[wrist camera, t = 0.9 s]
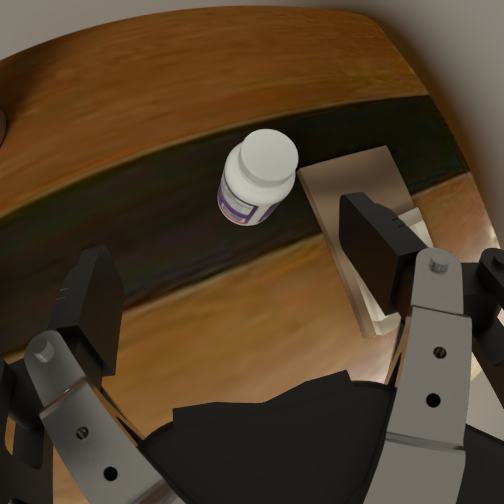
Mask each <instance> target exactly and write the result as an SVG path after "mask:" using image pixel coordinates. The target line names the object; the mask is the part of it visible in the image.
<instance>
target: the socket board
mask: <svg viewBox="0 0 504 504" xmlns="http://www.w3.org/2000/svg"><path fill="white" fill-rule="evenodd" d="M296 173H297V175H298V177H299V180H300V182H301V184H302V186H303V189H304V191H305V193H306V195H307V197H308V200H309V202H310V204H311V206H312V209H313V211H314V213H315V216H316V218H317V220H318V223H319V225H320V227H321V230H322V232H323V234H324V237H325V239H326V242H327V244H328V246H329V249H330V251H331V254H332V256H333V259H334V261H335V264H336V266H337V269H338V271H339V274H340V276H341V279H342V281H343V284H344V287H345V289H346V292H347V294H348V297H349V300H350V302H351V305H352V308H353V310H354V313H355V316H356V318H357V321H358V324H359V327H360V329H361V332H362V335H363V338H366V339H369V338H371V337H373V336H374V335H376V334H378V335H386V334H387V333H389V332H391V331H392V330H394V329H395V328H397V327H398V325H399V321H400V318H401V316H400V315H399V313H398V312H397V313H394V314H391V315H388V316H385V315H384V313H383V312H382V310H381V308H380V307H379V305H378V304H377V302H376V300H375V299H374V297H373V296H372V294H371V293H370V291H369V290H368V288H367V286H366V285H365V283H364V282H363V280H362V279H361V277H360V276H359V274H358V273H357V271H356V270H355V268H354V267H353V265H352V264H351V262H350V261H349V259H348V258H347V256H346V255H345V253H344V252H343V250H342V248H341V245H340V241H339V201H340V197H341V196H342V195H345V194H351V193H357V192H364V193H365V194H366V195H367V196H368V197H369V198H370V199H371V200H372V201H373V202H374V203H375V204H376V203H379V204H381V205H383V206H385V207H387V208H389V209H391V210H392V211H393V212H394V213H395V214H396V215H397V216H398V217H399V219H401V220H402V221H403V222H404V223H405V224H406V226H408V227H409V228H410V229H411V230H412V231H413V232H414V233H415V234H416V235H417V236H418V237H419V238H420V239H421V240H422V241H423V242H424V243H425V244H426V245H427V246H428V247H429V248H434V246H433V244H432V241H431V238H430V236H429V233H428V230H427V228H426V225H425V223H424V220H423V218H422V215H421V213H420V211H419V208H418V207H417V208H415V206H414V203H413V201H412V199H411V196H410V194H409V192H408V190H407V187H406V185H405V183H404V181H403V179H402V177H401V174H400V172H399V170H398V168H397V166H396V164H395V162H394V160H393V158H392V156H391V154H390V152H389V150H388V148H387V146H382V147H378V148H374V149H370V150H366V151H362V152H358V153H354V154H350V155H346V156H343V157H339V158H335V159H332V160H328V161H324V162H321V163H317V164H314V165H310V166H307V167H303V168H300V169H299V170H298V171H297V172H296Z"/></svg>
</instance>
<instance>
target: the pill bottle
mask: <svg viewBox="0 0 504 504" xmlns="http://www.w3.org/2000/svg"><path fill="white" fill-rule="evenodd" d="M297 164H298V152H297V149H296V147H295V145H294V143H293V142H292V141H291V140H290V139H289V138H288V137H287V136H286V135H284V134H283V133H281V132H279V131H276V130H271V129H261V130H257V131H254V132H252V133H251V134H249V135H248V136H247V137H246V138H245V140H244V141H243V142H242V143H240V144H239V145H237V146H236V147H235V148H234V149H233V150H232V151H231V152H230V154H229V156H228V158H227V160H226V163H225V167H224V171H223V175H222V179H221V182H220V186H219V190H218V204H219V207H220V209H221V211H222V213H223V214H224V215H225V216H226V217H227V218H228V219H229V220H230V221H232V222H234V223H236V224H239V225H245V226H250V225H255V224H258V223H260V222H262V221H264V220H265V219H266V218H267V217H268V216H269V215H270V214H271V213H272V212H273V211H274V209H275V208H276V207H277V206H278V205H279V204H280V203H281V202H282V200H283V199H284V198H285V197H286V196H287V195H288V194H289V192H290V191H291V189H292V187H293V185H294V181H295V169H296V167H297Z"/></svg>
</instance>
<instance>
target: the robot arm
mask: <svg viewBox="0 0 504 504" xmlns="http://www.w3.org/2000/svg"><path fill="white" fill-rule="evenodd" d="M5 130H6V117H5V114H4V113H3V111H2V110H1V108H0V145H1V143H2V140H3V138H4V135H5ZM339 241H340V245H341V248H342V250H343V252H344V253H345V255H346V256H347V258H348V259H349V261H350V262H351V264H352V265H353V267H354V268H355V270H356V271H357V273H358V274H359V276H360V277H361V279H362V280H363V282H364V283H365V285H366V286H367V288H368V290H369V291H370V293H371V294H372V296H373V297H374V299H375V300H376V302H377V304H378V305H379V307H380V308H381V310H382V312H383V313H384V315H385V316H388V315H391V314H394V313H397V312H398V313H399V315H400V316H401V318H400V321H399V325H398V330H397V335H396V340H395V344H394V349H393V353H392V358H391V362H390V366H389V370H388V373H387V376H386V379H385V382H384V384H382V383H378V382H372V381H351V379H350V377H349V374H348V372H347V370H344V371H340V372H337V373H334V374H331V375H327V376H324V377H320V378H317V379H313V380H310V381H306V382H304V383H302V384H300V385H298V386H296V387H294V388H292V389H290V390H288V391H286V392H284V393H282V394H280V395H278V396H276V397H274V398H272V399H270V400H268V401H266V402H263V403H227V402H212V403H206V404H200V405H194V406H187V407H180V408H173V421H172V422H169V423H167V424H165V425H163V426H161V427H160V428H158V429H157V430H155V431H154V432H152V433H151V434H150V435H148V436H147V437H146V438H145V437H144V436H143V435H142V434H141V433H140V432H139V431H138V429H137V428H136V427H135V426H134V425H133V424H132V423H131V421H130V420H129V419H128V418H127V417H126V415H125V414H124V413H123V412H122V410H121V409H120V408H119V407H118V405H117V404H116V403H115V401H114V400H113V399H112V398H111V396H110V395H109V394H108V392H107V391H106V390H105V388H104V387H103V386H102V385H101V384H102V377H104V376H113V375H115V370H116V360H117V350H118V341H119V333H120V325H121V318H122V311H123V304H124V297H125V294H124V287H123V283H122V280H121V278H120V276H119V274H118V272H117V270H116V267H115V265H114V263H113V261H112V259H111V257H110V254H109V252H108V250H107V248H106V247H105V246H103V245H102V246H98V247H94V248H90V249H86V250H83V251H82V253H81V256H80V259H79V261H78V264H77V267H73V269H72V270H71V271H70V272H69V274H68V275H67V276H66V277H65V279H64V282H63V284H62V287H61V292H59V295H58V298H57V299H58V301H56V304H55V307H54V310H53V313H52V316H51V319H50V322H49V325H48V328H47V331H45V332H42V333H40V334H38V335H37V336H36V337H34V338H33V339H32V340H31V342H30V343H29V344H28V346H27V348H26V350H25V354H24V358H22V359H20V360H18V361H16V362H14V363H11V364H9V365H8V364H7V363H6V362H5V361H4V360H3V359H2V358H1V357H0V504H53V444H54V446H55V448H56V450H57V452H58V454H59V455H60V457H61V459H62V461H63V462H64V464H65V466H66V467H67V469H68V471H69V472H70V474H71V476H72V477H73V479H74V481H75V482H76V484H77V485H78V487H79V488H80V490H81V491H82V493H83V494H84V496H85V497H86V499H87V500H88V502H89V503H90V504H504V441H502V440H500V439H498V438H496V437H494V436H492V435H489V434H487V433H485V432H483V431H481V430H479V429H476V428H474V427H472V426H470V425H468V424H466V417H467V409H468V408H467V407H468V399H469V388H470V375H471V354H472V352H473V354H474V356H475V357H476V359H477V361H478V363H479V364H480V366H481V368H482V370H483V371H484V373H485V375H486V377H487V378H488V380H489V382H490V384H491V386H492V387H493V389H494V391H495V393H496V395H497V397H498V399H499V401H500V403H501V405H502V407H503V409H504V326H503V325H502V323H501V322H500V321H499V319H498V318H497V316H498V314H499V313H500V311H501V309H502V308H503V310H504V251H503V250H501V249H498V248H488V249H485V250H484V251H483V252H482V254H481V257H480V260H479V263H460V261H459V260H458V259H457V257H456V256H454V255H453V254H452V253H450V252H448V251H446V250H444V249H440V248H429V247H428V246H427V245H426V244H425V243H424V242H423V241H422V240H421V239H420V238H419V237H418V236H417V235H416V234H415V233H414V232H413V231H412V230H411V229H410V228H409V227H408V226H406V224H405V223H404V222H403V221H402V220H401V219H399V217H398V216H397V215H396V214H395V213H394V212H393V211H392V210H391V209H389V208H387V207H385V206H383V205H381V204H379V203H376V204H375V203H374V202H373V201H372V200H371V199H370V198H369V197H368V196H367V195H366V194H365V193H364V192H357V193H351V194H345V195H342V196H341V197H340V201H339ZM7 417H10V418H11V419H12V420H13V421H15V422H16V427H15V435H14V444H13V454H12V455H11V454H10V453H9V452H8V450H7V448H6V446H5V440H4V439H5V431H6V423H7Z"/></svg>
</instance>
